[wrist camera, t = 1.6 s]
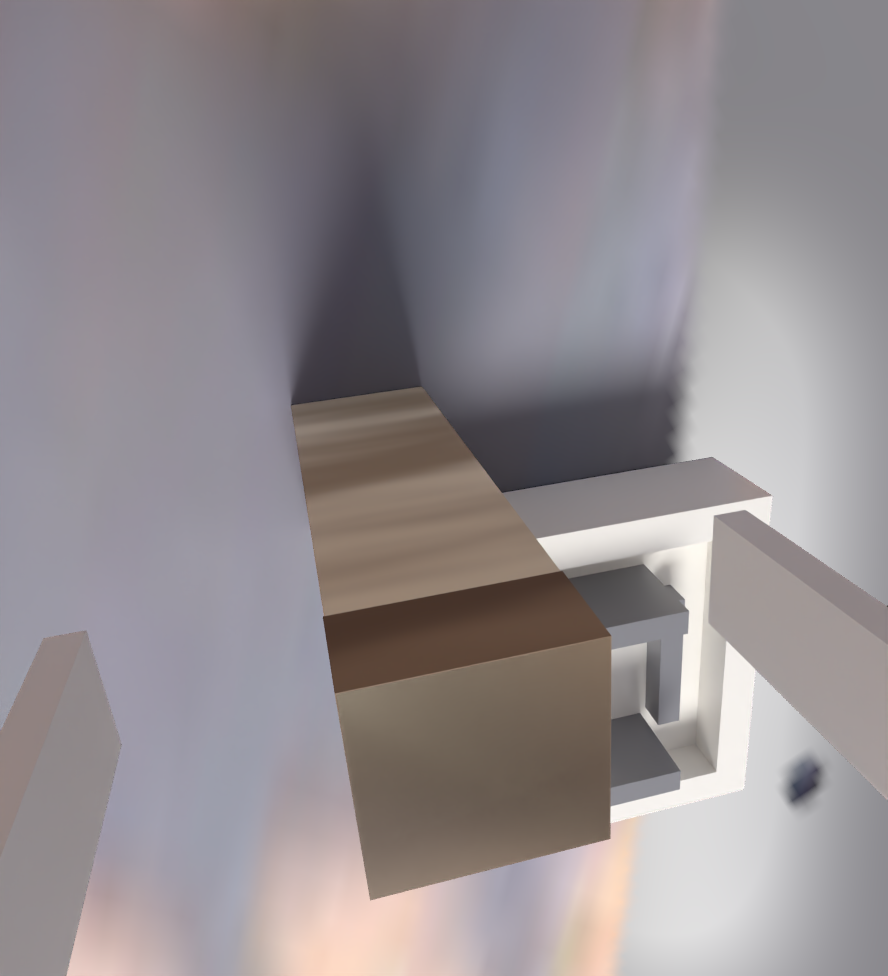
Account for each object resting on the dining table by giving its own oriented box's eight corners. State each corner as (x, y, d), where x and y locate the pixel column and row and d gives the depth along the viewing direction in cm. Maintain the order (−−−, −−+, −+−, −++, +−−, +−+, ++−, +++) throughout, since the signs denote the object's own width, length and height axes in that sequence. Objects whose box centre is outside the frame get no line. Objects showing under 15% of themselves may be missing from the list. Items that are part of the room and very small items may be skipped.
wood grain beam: (290, 404, 23) (334, 693, 11) (422, 385, 24) (611, 636, 11) (310, 525, 25) (370, 899, 12) (433, 504, 26) (609, 839, 13)
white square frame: (372, 514, 25) (399, 591, 21) (712, 457, 27) (803, 515, 23) (409, 794, 30) (437, 906, 26) (695, 727, 32) (767, 820, 28)
